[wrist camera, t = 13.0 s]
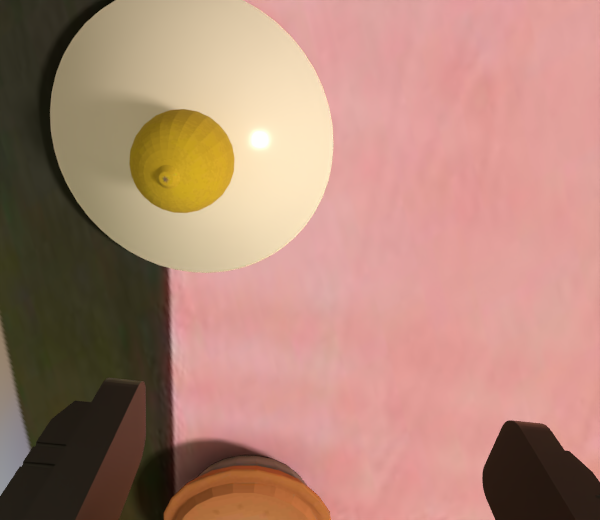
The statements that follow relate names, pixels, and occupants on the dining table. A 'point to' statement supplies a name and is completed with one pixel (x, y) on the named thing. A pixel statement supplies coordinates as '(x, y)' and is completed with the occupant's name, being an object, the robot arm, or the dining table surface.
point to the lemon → (181, 161)
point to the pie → (247, 493)
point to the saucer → (202, 98)
